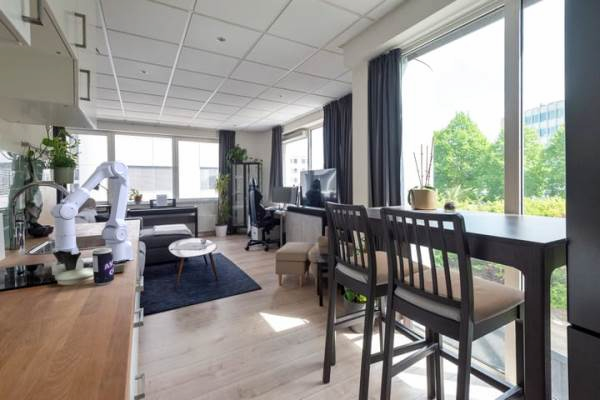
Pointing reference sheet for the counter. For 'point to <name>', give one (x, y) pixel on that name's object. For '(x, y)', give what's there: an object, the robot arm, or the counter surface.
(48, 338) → the counter surface
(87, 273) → the stand
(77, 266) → the housing
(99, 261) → the beverage can
